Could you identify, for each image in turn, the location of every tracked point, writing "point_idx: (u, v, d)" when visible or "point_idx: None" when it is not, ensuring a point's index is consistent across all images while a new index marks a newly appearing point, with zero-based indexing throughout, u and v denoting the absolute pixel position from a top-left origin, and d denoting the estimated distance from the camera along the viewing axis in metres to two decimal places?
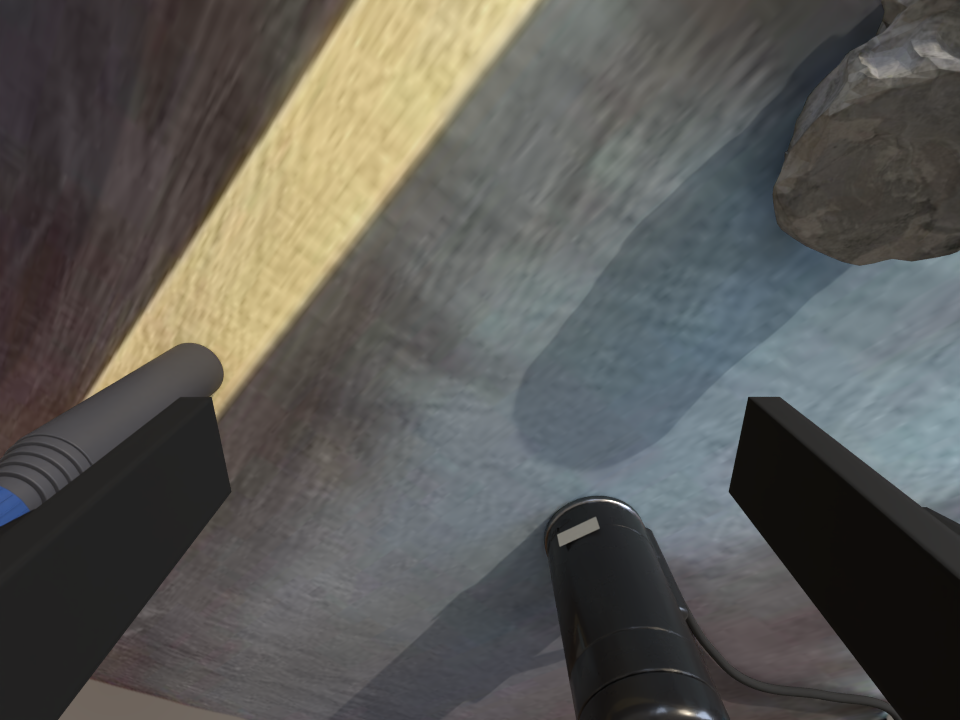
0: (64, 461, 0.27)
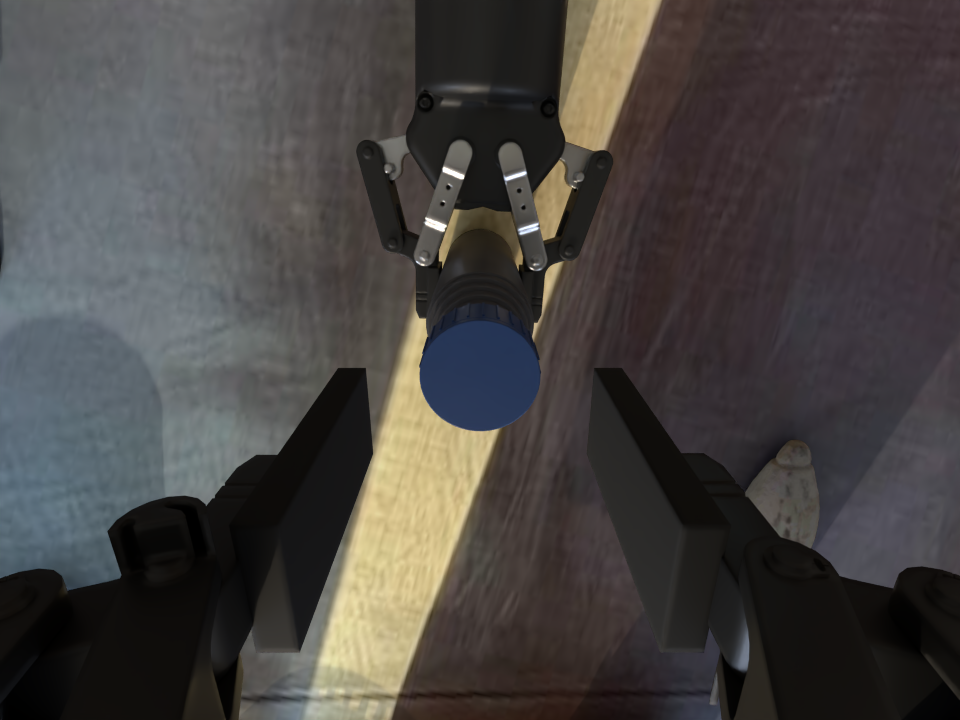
0: None
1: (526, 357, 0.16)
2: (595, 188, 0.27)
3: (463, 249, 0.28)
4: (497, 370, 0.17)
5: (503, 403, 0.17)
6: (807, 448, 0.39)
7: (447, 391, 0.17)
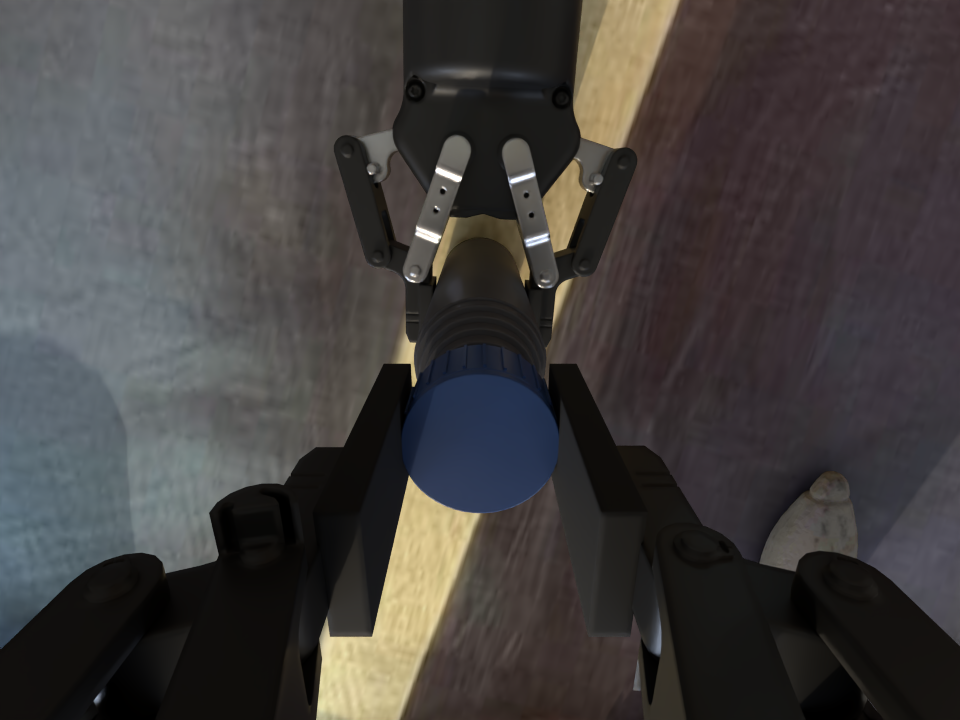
0: None
1: (542, 421, 0.12)
2: (616, 192, 0.23)
3: (460, 263, 0.24)
4: (503, 438, 0.13)
5: (511, 479, 0.13)
6: (845, 481, 0.35)
7: (437, 464, 0.13)
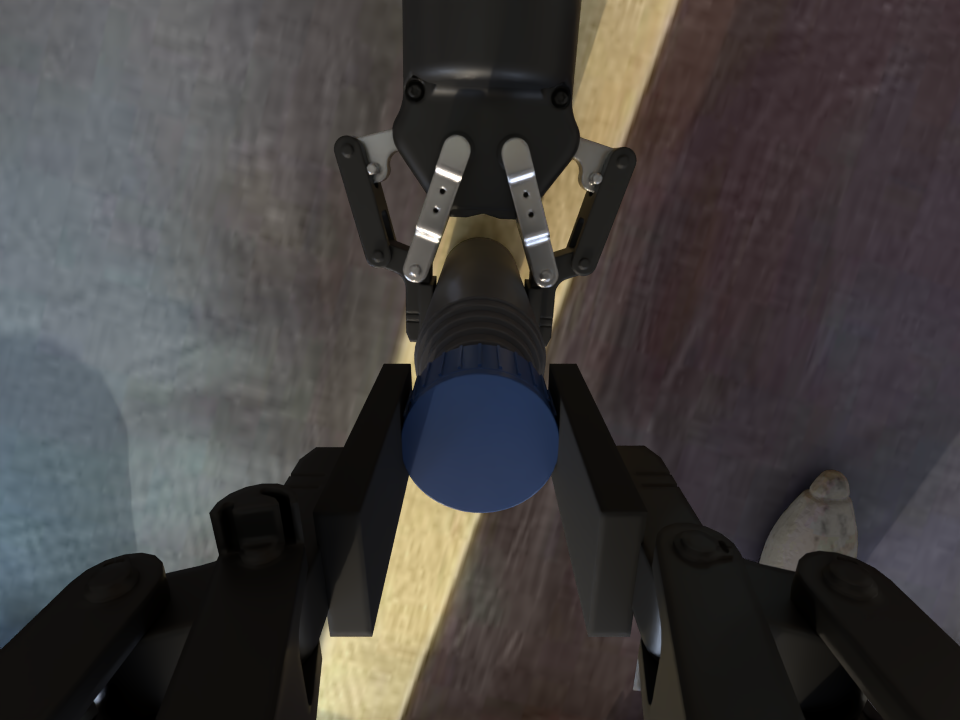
0: None
1: (449, 392, 0.12)
2: (615, 192, 0.23)
3: (460, 263, 0.24)
4: (469, 426, 0.12)
5: (518, 419, 0.12)
6: (845, 480, 0.35)
7: (498, 484, 0.13)
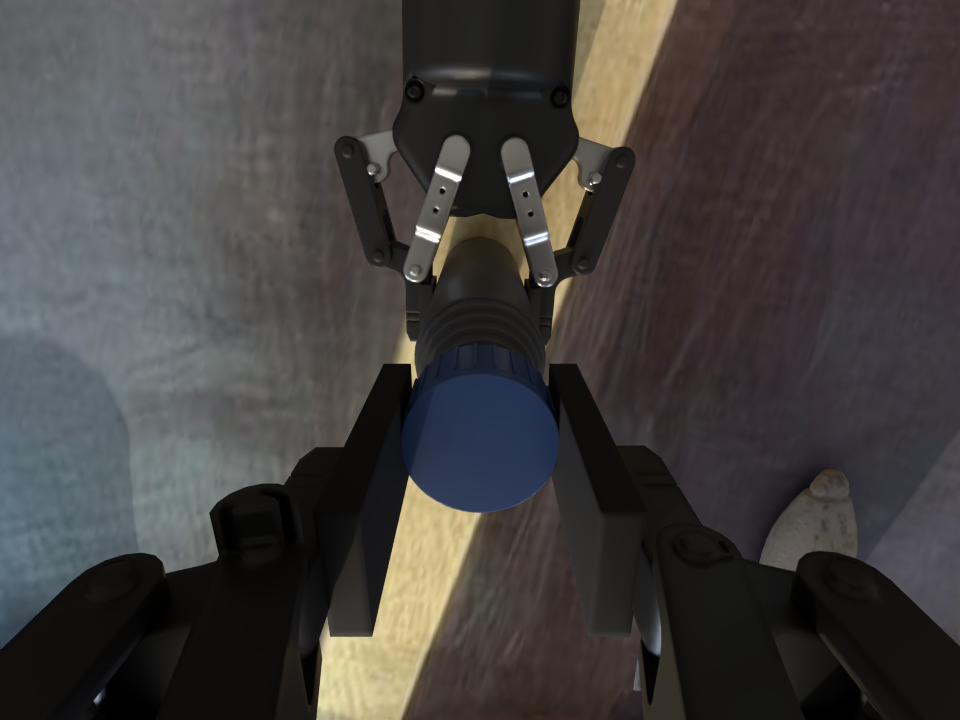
0: None
1: (420, 472, 0.13)
2: (614, 191, 0.23)
3: (460, 263, 0.24)
4: (457, 456, 0.13)
5: (447, 414, 0.12)
6: (845, 478, 0.35)
7: (524, 430, 0.12)
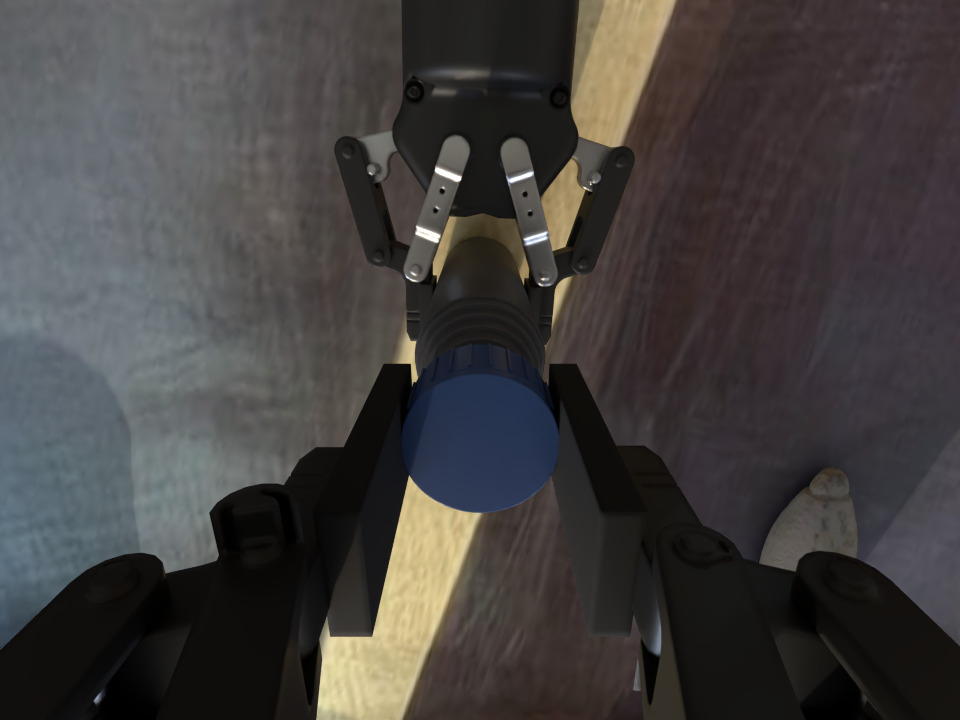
0: None
1: (508, 498, 0.13)
2: (614, 191, 0.23)
3: (460, 262, 0.24)
4: (490, 467, 0.13)
5: (443, 474, 0.13)
6: (845, 477, 0.35)
7: (460, 408, 0.12)
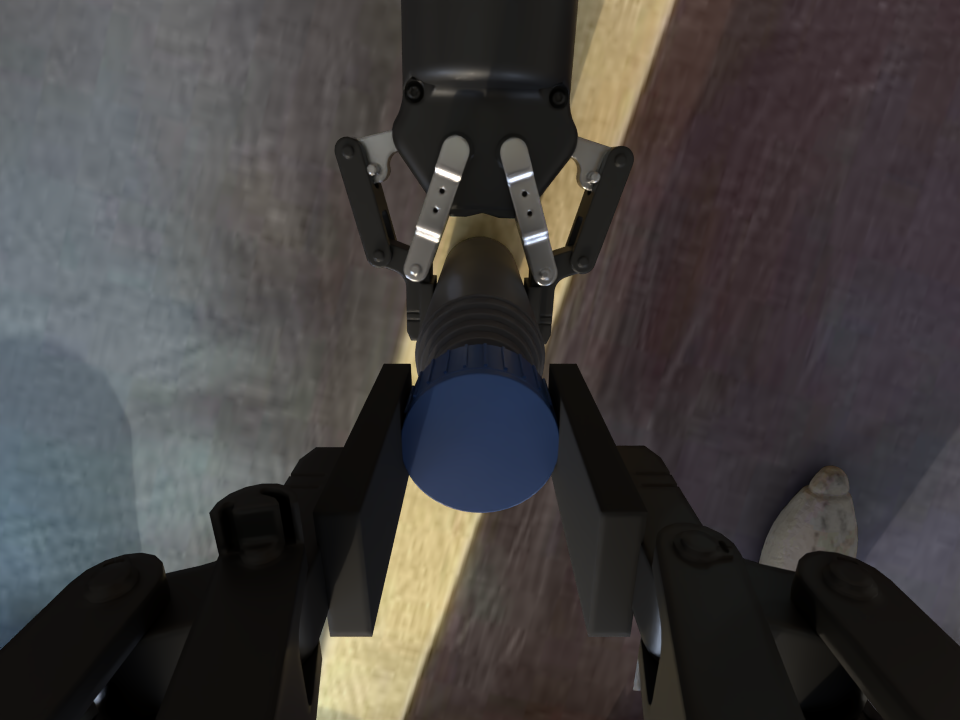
0: None
1: (542, 421, 0.12)
2: (613, 190, 0.23)
3: (460, 262, 0.24)
4: (503, 438, 0.13)
5: (510, 478, 0.13)
6: (845, 475, 0.35)
7: (437, 463, 0.13)
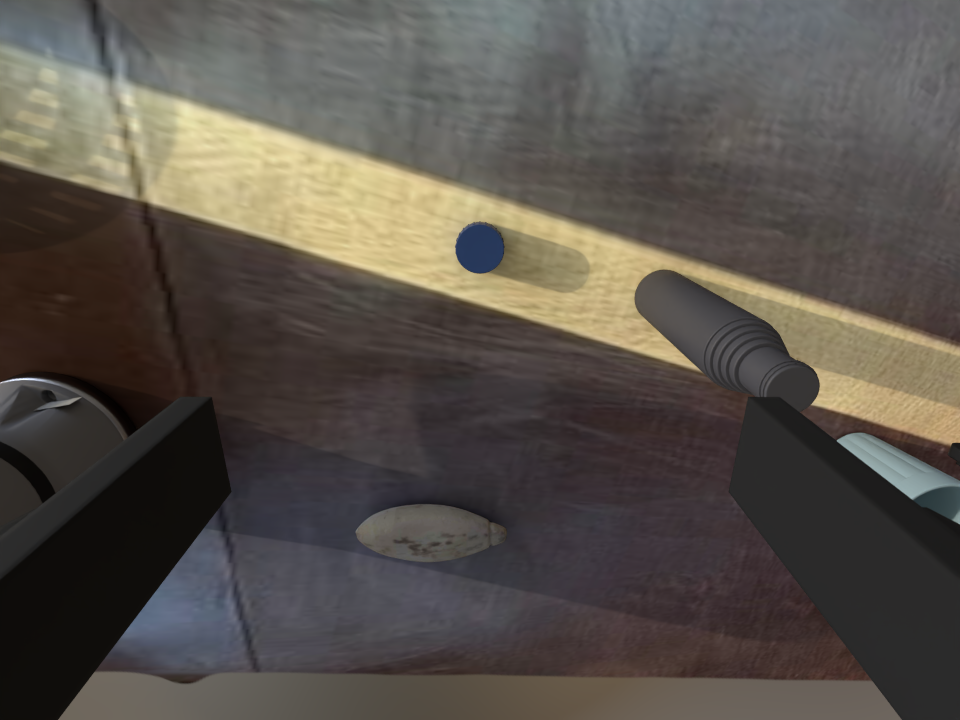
0: (722, 343, 0.30)
1: (471, 230, 0.41)
2: None
3: None
4: (476, 242, 0.42)
5: (491, 239, 0.42)
6: (503, 541, 0.53)
7: (485, 262, 0.42)
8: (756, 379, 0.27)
